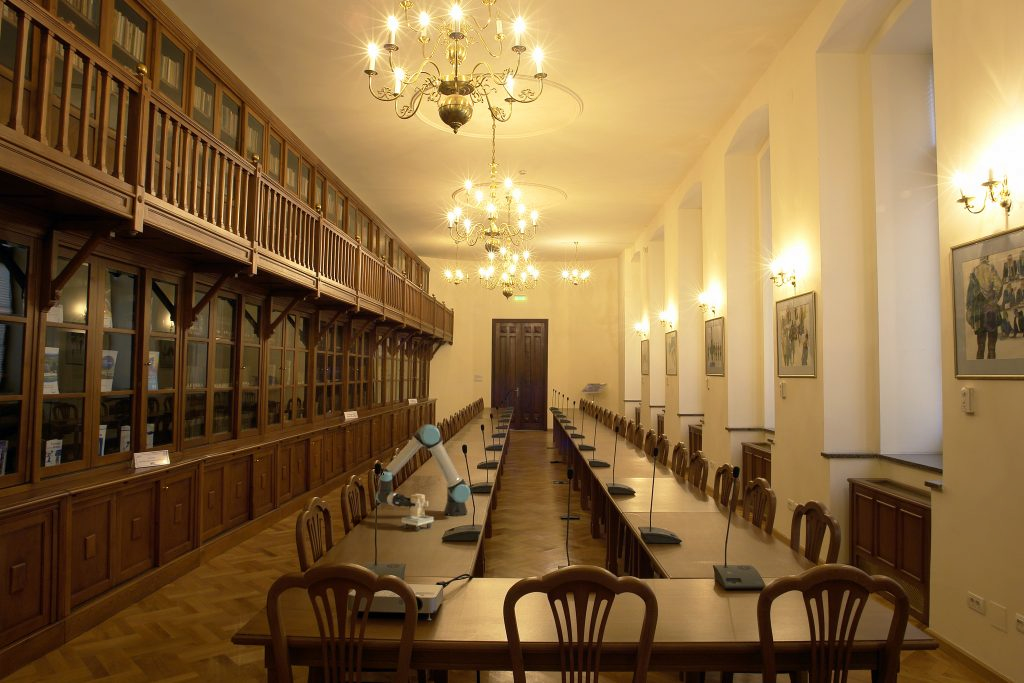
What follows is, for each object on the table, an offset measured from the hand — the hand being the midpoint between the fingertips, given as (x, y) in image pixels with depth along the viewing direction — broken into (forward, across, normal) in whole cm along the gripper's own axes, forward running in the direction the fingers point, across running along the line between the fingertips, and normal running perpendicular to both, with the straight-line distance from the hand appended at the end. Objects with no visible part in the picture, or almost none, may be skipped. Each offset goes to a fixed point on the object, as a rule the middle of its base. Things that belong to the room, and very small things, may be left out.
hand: (423, 504), depth 392 cm
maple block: (-5, 0, -7) cm, 9 cm away
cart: (-5, 0, -15) cm, 16 cm away
